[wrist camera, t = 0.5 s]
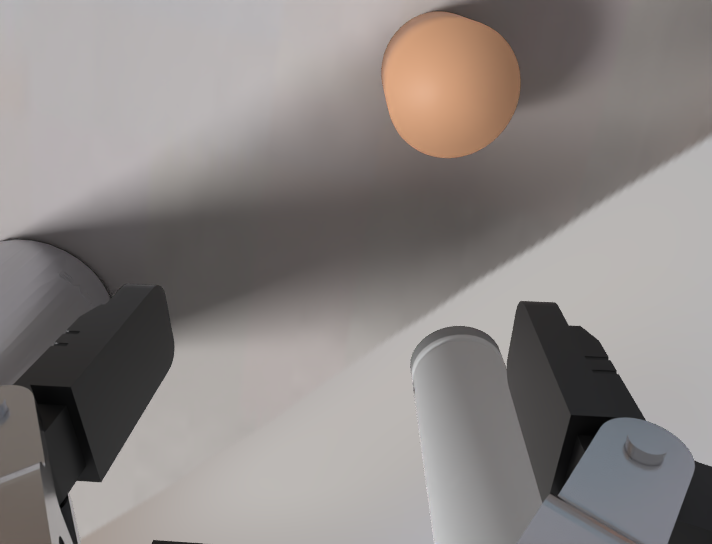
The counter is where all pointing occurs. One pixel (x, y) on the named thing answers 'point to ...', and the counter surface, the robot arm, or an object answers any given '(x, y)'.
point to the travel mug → (471, 440)
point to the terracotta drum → (449, 84)
